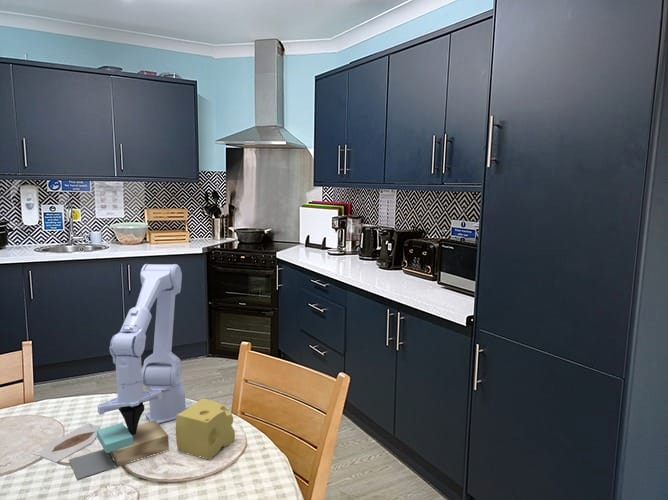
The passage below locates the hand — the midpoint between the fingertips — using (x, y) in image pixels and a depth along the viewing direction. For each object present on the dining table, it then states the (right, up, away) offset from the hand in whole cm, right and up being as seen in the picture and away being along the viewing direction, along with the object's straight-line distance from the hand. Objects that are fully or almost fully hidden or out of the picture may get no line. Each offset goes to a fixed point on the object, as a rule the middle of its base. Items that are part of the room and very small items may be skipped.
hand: (132, 433), depth 118 cm
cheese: (+17, -5, +3) cm, 18 cm away
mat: (-7, -5, -5) cm, 10 cm away
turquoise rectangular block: (-3, -1, -2) cm, 4 cm away
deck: (+1, -5, +1) cm, 5 cm away
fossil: (-17, -5, +5) cm, 19 cm away
